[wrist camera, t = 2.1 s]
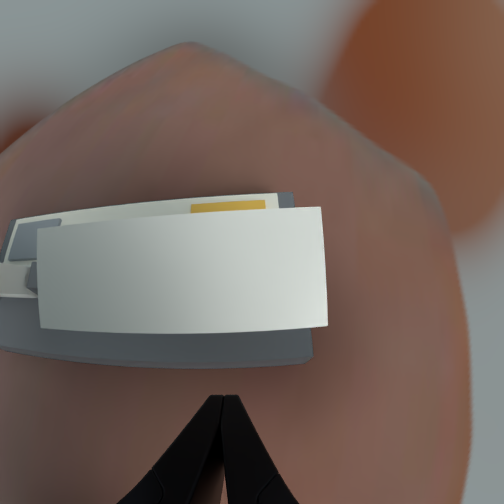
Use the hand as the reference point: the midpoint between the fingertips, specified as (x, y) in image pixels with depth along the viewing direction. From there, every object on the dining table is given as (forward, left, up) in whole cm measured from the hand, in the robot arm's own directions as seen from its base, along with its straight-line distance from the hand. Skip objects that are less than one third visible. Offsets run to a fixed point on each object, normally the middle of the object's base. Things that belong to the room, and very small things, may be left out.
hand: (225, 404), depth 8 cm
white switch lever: (+6, -1, -5) cm, 8 cm away
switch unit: (+8, +5, -9) cm, 13 cm away
